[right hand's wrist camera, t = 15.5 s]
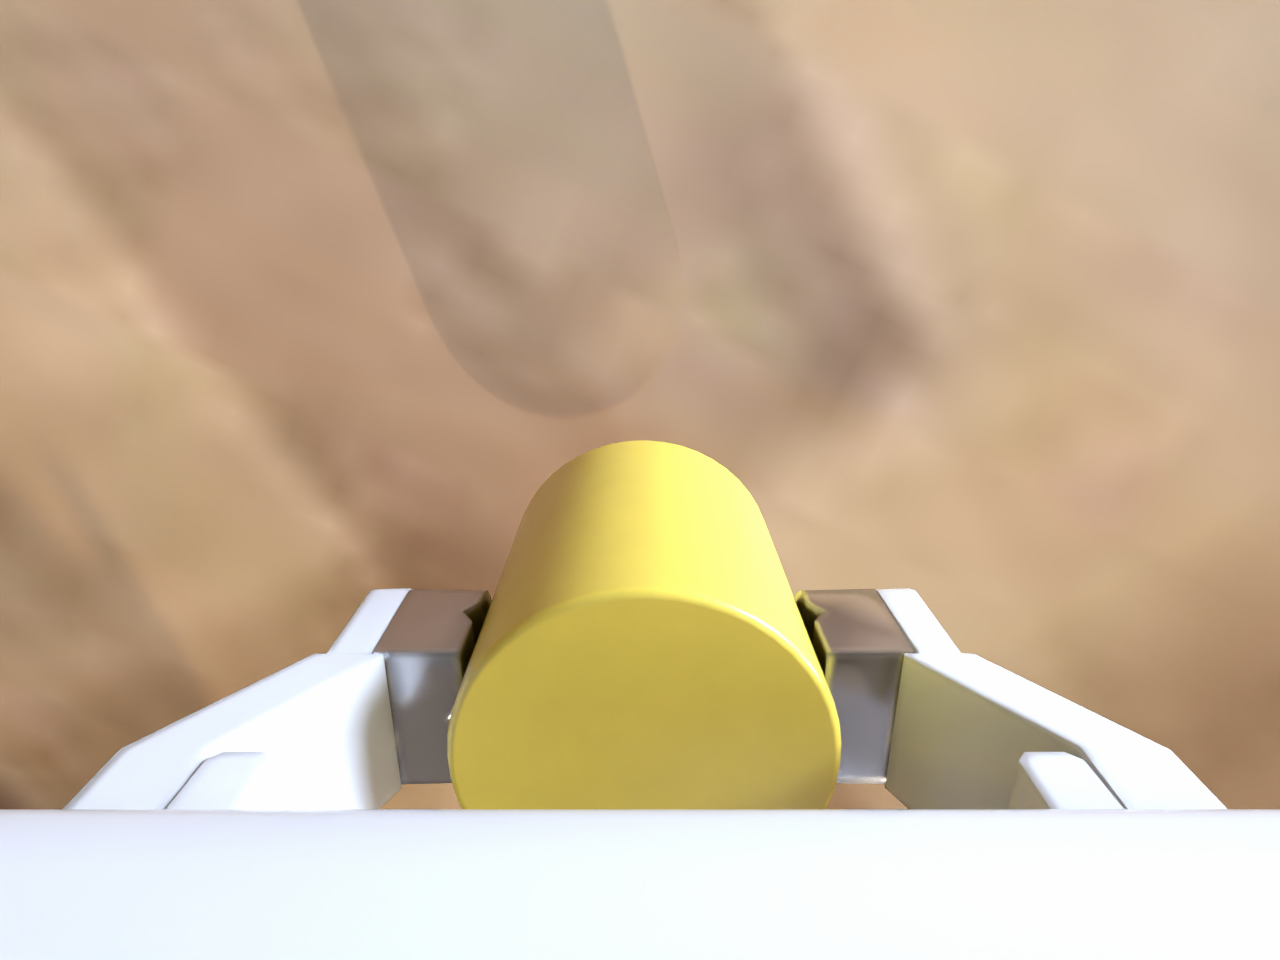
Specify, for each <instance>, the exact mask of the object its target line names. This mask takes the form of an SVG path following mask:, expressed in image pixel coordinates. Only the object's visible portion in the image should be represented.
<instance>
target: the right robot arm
mask: <svg viewBox="0 0 1280 960" xmlns="http://www.w3.org/2000/svg"><path fill="white" fill-rule="evenodd" d="M795 602H796V604H797V607H798V610H799V612H800V615H801V617H802V620H803V622H804V625H805V628H806V630H807V633H808V635H809V638H810V641H811V643H812V646H813V648H814V651H815V653H816V656H817V659H818V661H819V664H820V666H821V669H822V671H823V674H824V677H825V679H826V682H827V684H828V687H829V689H830V692H831V695H832V697H833V700H834V703H835V707H836V710H837V714H838V718H839V722H840V731H841V742H842V745H841V761H840V767H839V772H838V776H837V781H836V783H856V784H885V788H886V789H887V790H888V791H889V792H891V793H892V794H893V795H894V796H895V797H896V798H897V799H898V800H899V801H900V802H902V803H903V804H904V805H905V806H906V807H907V808H908V809H379V808H380V807H381V806H382V805H384V804H385V803H386V802H387V801H388V800H389V799H390V798H391V797H392V796H393V795H394V794H395V793H397V792H398V791H399V790H400V789H401V784H429V783H452V781H451V777H450V770H449V764H448V758H447V734H448V728H449V722H450V716H451V712H452V709H453V706H454V703H455V700H456V697H457V694H458V691H459V689H460V686H461V683H462V681H463V678H464V675H465V672H466V670H467V667H468V664H469V662H470V659H471V656H472V653H473V651H474V648H475V645H476V643H477V640H478V637H479V634H480V632H481V629H482V626H483V624H484V621H485V618H486V615H487V613H488V610H489V607H490V605H491V597H490V595H489V592H488V590H435V589H414V590H412V589H411V588H400V589H375V590H371V591H370V592H369V593H368V594H367V596H366V597H365V599H364V600H363V601H362V603H361V604H360V606H359V607H358V609H357V610H356V611H355V613H354V614H353V616H352V617H351V619H350V620H349V621H348V623H347V624H346V626H345V627H344V629H343V630H342V631H341V633H340V634H339V636H338V637H337V638H336V640H335V641H334V643H333V644H332V646H331V647H330V648H329V650H328V651H327V653H326V654H312V655H310V656H308V657H306V658H304V659H302V660H300V661H298V662H296V663H294V664H292V665H290V666H288V667H286V668H284V669H282V670H280V671H278V672H276V673H273V674H271V675H269V676H267V677H265V678H263V679H261V680H259V681H257V682H255V683H253V684H251V685H249V686H247V687H245V688H243V689H241V690H239V691H237V692H235V693H233V694H231V695H229V696H227V697H225V698H223V699H221V700H218V701H216V702H214V703H212V704H210V705H208V706H206V707H204V708H202V709H200V710H198V711H196V712H194V713H192V714H190V715H188V716H186V717H184V718H182V719H180V720H178V721H176V722H174V723H172V724H170V725H168V726H166V727H164V728H161V729H159V730H157V731H155V732H153V733H151V734H149V735H147V736H145V737H143V738H141V739H139V740H137V741H135V742H133V743H131V744H129V745H127V746H125V747H123V748H121V749H119V751H118V752H117V753H116V754H115V755H114V756H113V757H112V758H111V759H110V760H109V761H108V762H107V763H106V764H105V765H104V766H103V767H102V768H101V769H100V770H99V771H98V773H97V774H96V775H95V776H94V777H93V778H92V779H91V780H90V781H89V782H88V783H87V784H86V785H85V786H84V787H83V788H82V789H81V790H80V791H79V792H78V793H77V795H76V796H75V797H74V798H73V799H72V800H71V801H70V802H69V803H68V804H67V805H66V806H65V807H64V808H63V809H0V960H1280V809H1227V808H1226V807H1225V806H1224V805H1223V804H1222V803H1221V802H1220V801H1219V800H1218V799H1217V798H1216V797H1215V796H1214V795H1213V794H1212V793H1211V791H1210V790H1209V789H1208V788H1207V787H1206V786H1205V785H1204V784H1203V783H1202V782H1201V781H1200V780H1199V779H1198V778H1197V777H1196V776H1195V775H1194V774H1193V773H1192V772H1191V771H1190V770H1189V769H1188V768H1187V767H1186V766H1185V765H1184V763H1183V762H1182V761H1181V760H1180V759H1179V758H1178V757H1177V756H1176V755H1175V754H1174V753H1173V752H1172V751H1171V750H1170V749H1168V748H1166V747H1163V746H1161V745H1159V744H1157V743H1155V742H1153V741H1151V740H1149V739H1147V738H1145V737H1143V736H1141V735H1139V734H1137V733H1135V732H1133V731H1131V730H1129V729H1127V728H1125V727H1122V726H1120V725H1118V724H1116V723H1114V722H1112V721H1110V720H1108V719H1106V718H1104V717H1102V716H1100V715H1098V714H1096V713H1094V712H1092V711H1090V710H1088V709H1086V708H1084V707H1082V706H1079V705H1077V704H1075V703H1073V702H1071V701H1069V700H1067V699H1065V698H1063V697H1061V696H1059V695H1057V694H1055V693H1053V692H1051V691H1049V690H1047V689H1045V688H1043V687H1041V686H1039V685H1036V684H1034V683H1032V682H1030V681H1028V680H1026V679H1024V678H1022V677H1020V676H1018V675H1016V674H1014V673H1012V672H1010V671H1008V670H1006V669H1004V668H1002V667H1000V666H998V665H996V664H993V663H991V662H989V661H987V660H985V659H983V658H981V657H979V656H977V655H975V654H961V653H960V651H959V650H958V648H957V647H956V646H955V644H954V643H953V642H952V640H951V639H950V637H949V636H948V635H947V633H946V632H945V631H944V629H943V628H942V626H941V625H940V624H939V622H938V621H937V620H936V618H935V617H934V615H933V614H932V613H931V611H930V610H929V608H928V607H927V606H926V604H925V603H924V602H923V600H922V599H921V597H920V596H919V595H918V593H917V592H916V591H915V590H913V589H910V588H900V589H878V590H876V589H848V590H806V591H799V592H797V593H796V597H795Z"/></svg>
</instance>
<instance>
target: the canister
mask: <svg viewBox="0 0 1280 960" xmlns="http://www.w3.org/2000/svg"><path fill="white" fill-rule="evenodd" d="M841 745H842V742H841V731H840V722H839V718H838V714H837V710H836V707H835V703H834V700H833V697H832V695H831V692H830V689H829V687H828V684H827V682H826V679H825V677H824V674H823V671H822V669H821V666H820V664H819V661H818V659H817V656H816V653H815V651H814V648H813V646H812V643H811V641H810V638H809V635H808V633H807V630H806V628H805V625H804V622H803V620H802V617H801V615H800V612H799V610H798V607H797V604H796V602H795V599H794V597H793V594H792V592H791V589H790V586H789V584H788V581H787V579H786V576H785V574H784V571H783V568H782V566H781V563H780V561H779V558H778V555H777V553H776V550H775V548H774V545H773V543H772V540H771V537H770V535H769V532H768V530H767V527H766V525H765V522H764V519H763V517H762V515H761V513H760V510H759V508H758V506H757V504H756V503H755V501H754V499H753V498H752V496H751V495H750V493H749V492H748V490H747V489H746V488H745V487H744V486H743V484H742V483H741V482H740V481H739V480H738V479H737V478H736V477H735V476H734V475H733V474H732V473H731V472H729V471H728V470H727V469H726V468H725V467H723V466H722V465H720V464H719V463H717V462H716V461H714V460H713V459H711V458H709V457H707V456H705V455H703V454H701V453H699V452H697V451H694V450H692V449H689V448H686V447H683V446H680V445H675V444H671V443H666V442H658V441H627V442H621V443H615V444H610V445H606V446H603V447H600V448H596V449H593V450H591V451H589V452H587V453H584V454H582V455H580V456H578V457H576V458H575V459H573V460H571V461H570V462H568V463H567V464H565V465H564V466H562V467H561V468H560V469H559V470H557V471H556V472H555V473H554V474H552V475H551V476H550V477H549V478H548V479H547V481H546V482H545V483H544V484H543V485H542V486H541V487H540V488H539V490H538V491H537V492H536V494H535V495H534V497H533V498H532V500H531V501H530V503H529V505H528V507H527V509H526V511H525V513H524V515H523V518H522V521H521V523H520V526H519V529H518V531H517V534H516V537H515V540H514V542H513V545H512V548H511V550H510V553H509V556H508V559H507V561H506V564H505V567H504V569H503V572H502V575H501V578H500V580H499V583H498V586H497V588H496V591H495V594H494V597H493V599H492V602H491V605H490V607H489V610H488V613H487V615H486V618H485V621H484V624H483V626H482V629H481V632H480V634H479V637H478V640H477V643H476V645H475V648H474V651H473V653H472V656H471V659H470V662H469V664H468V667H467V670H466V672H465V675H464V678H463V681H462V683H461V686H460V689H459V691H458V694H457V697H456V700H455V703H454V706H453V709H452V712H451V716H450V722H449V728H448V734H447V758H448V764H449V770H450V777H451V781H452V784H453V787H454V790H455V793H456V796H457V799H458V802H459V804H460V806H461V808H462V809H827V807H828V804H829V802H830V799H831V797H832V794H833V792H834V789H835V785H836V781H837V776H838V772H839V767H840V761H841Z"/></svg>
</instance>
